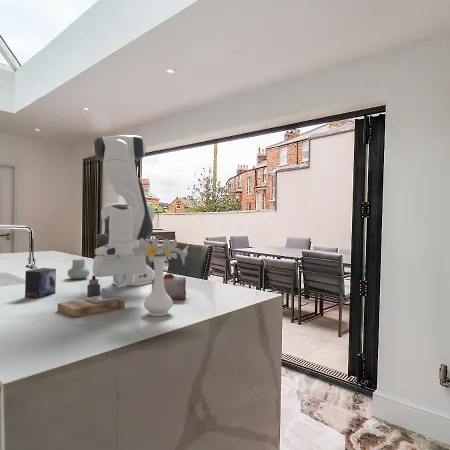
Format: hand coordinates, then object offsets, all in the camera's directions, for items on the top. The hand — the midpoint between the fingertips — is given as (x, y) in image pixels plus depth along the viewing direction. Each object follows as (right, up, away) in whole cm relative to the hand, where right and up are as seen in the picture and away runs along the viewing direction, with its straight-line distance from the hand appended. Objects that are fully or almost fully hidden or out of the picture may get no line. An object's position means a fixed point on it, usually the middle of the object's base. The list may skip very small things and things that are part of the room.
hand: (120, 287), depth 132 cm
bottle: (-12, -6, +5) cm, 14 cm away
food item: (+16, -7, +11) cm, 21 cm away
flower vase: (+17, -7, -12) cm, 22 cm away
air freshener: (-38, -6, +56) cm, 68 cm away
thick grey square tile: (-6, -3, -6) cm, 9 cm away
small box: (-36, -6, +14) cm, 39 cm away
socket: (-8, -6, -8) cm, 13 cm away
